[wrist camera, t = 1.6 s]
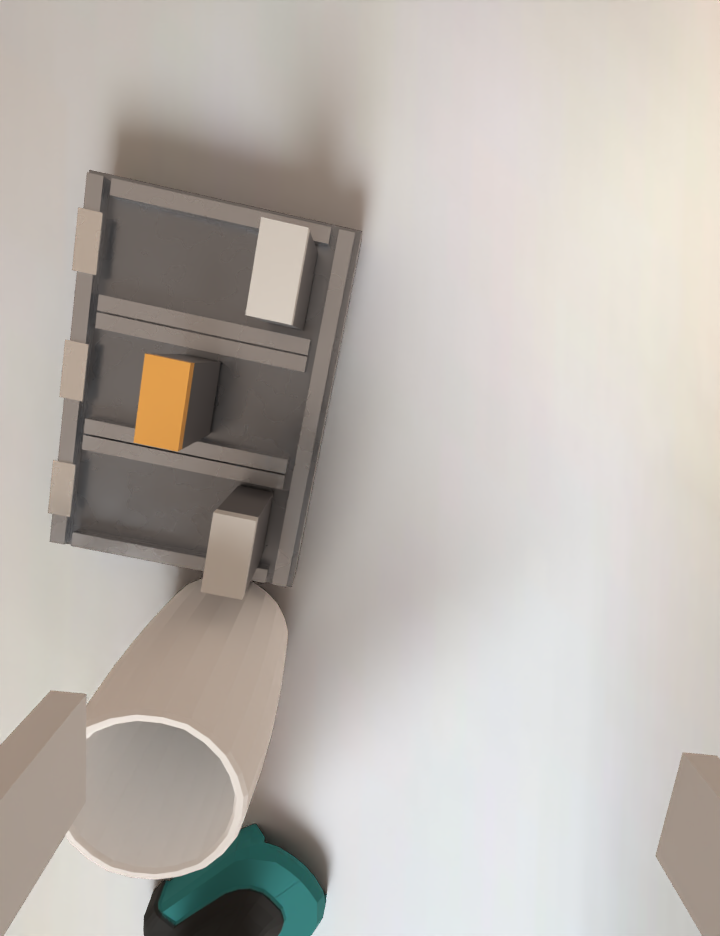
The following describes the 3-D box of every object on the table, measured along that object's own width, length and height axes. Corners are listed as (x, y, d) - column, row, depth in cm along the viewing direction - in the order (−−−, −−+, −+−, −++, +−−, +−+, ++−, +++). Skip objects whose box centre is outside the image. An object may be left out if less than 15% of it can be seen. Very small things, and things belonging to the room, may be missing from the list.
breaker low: (226, 552, 31) (200, 592, 26) (238, 485, 30) (213, 512, 25) (261, 558, 31) (242, 599, 26) (273, 492, 31) (256, 521, 25)
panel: (73, 527, 34) (42, 546, 30) (111, 185, 30) (80, 163, 27) (296, 570, 34) (289, 593, 31) (361, 241, 31) (362, 227, 27)
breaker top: (265, 322, 29) (245, 314, 23) (279, 243, 28) (261, 216, 23) (303, 330, 29) (291, 324, 24) (317, 251, 28) (308, 227, 23)
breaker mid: (173, 427, 30) (133, 442, 25) (183, 353, 29) (145, 353, 24) (209, 434, 30) (177, 451, 25) (220, 361, 29) (190, 363, 24)
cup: (137, 604, 35) (-8, 769, 21) (247, 538, 34) (171, 664, 20) (213, 705, 36) (124, 921, 22) (319, 644, 36) (296, 830, 22)
